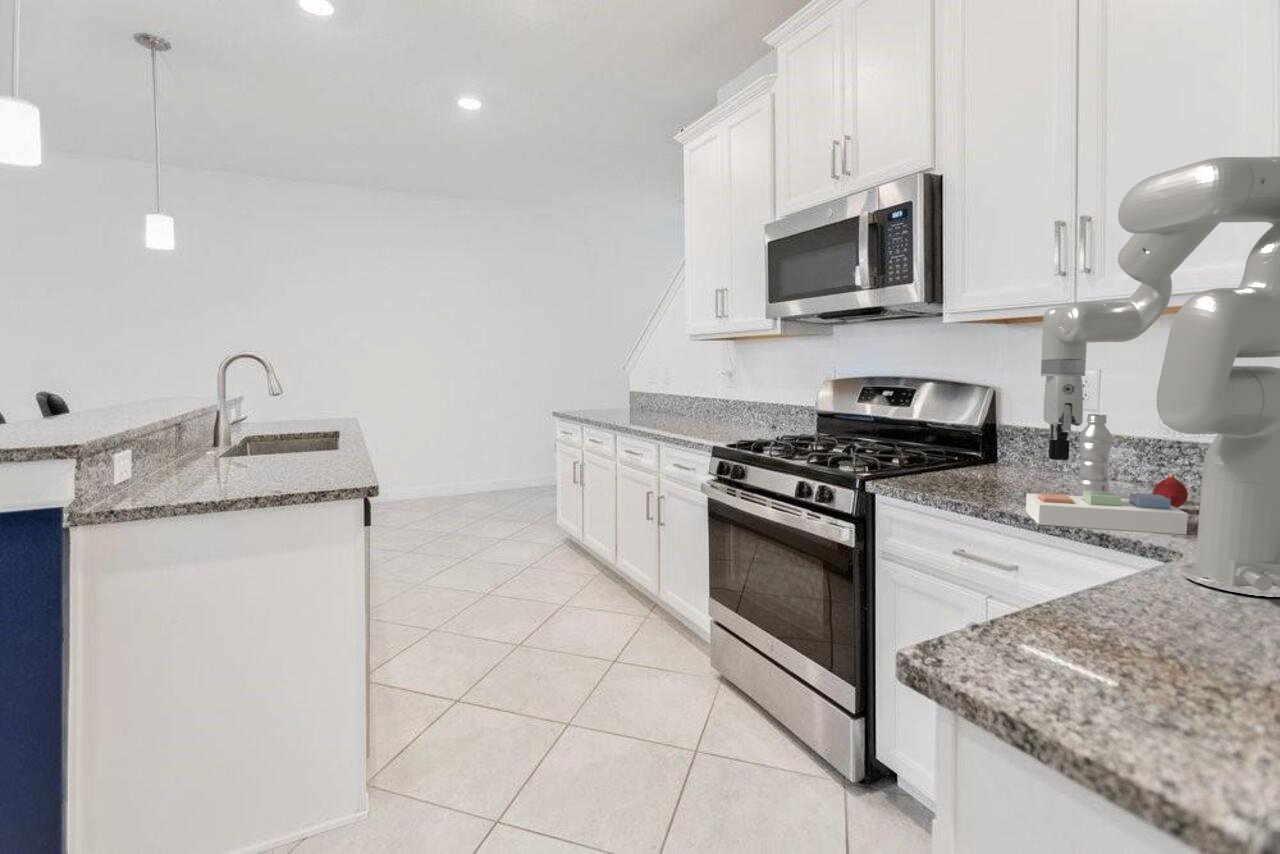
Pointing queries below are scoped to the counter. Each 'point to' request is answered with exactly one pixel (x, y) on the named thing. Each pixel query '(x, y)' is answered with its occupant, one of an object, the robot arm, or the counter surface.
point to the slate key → (1149, 501)
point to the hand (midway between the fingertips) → (1058, 459)
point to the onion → (1172, 491)
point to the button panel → (1107, 516)
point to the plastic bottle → (1094, 455)
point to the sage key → (1101, 498)
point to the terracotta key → (1055, 498)
